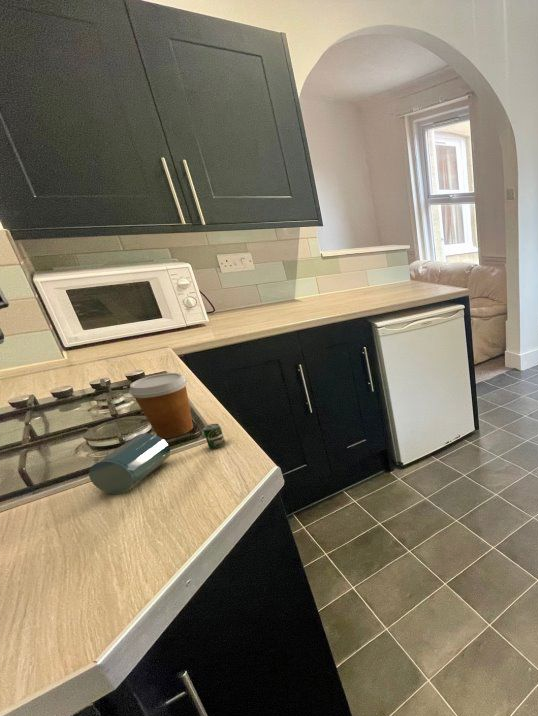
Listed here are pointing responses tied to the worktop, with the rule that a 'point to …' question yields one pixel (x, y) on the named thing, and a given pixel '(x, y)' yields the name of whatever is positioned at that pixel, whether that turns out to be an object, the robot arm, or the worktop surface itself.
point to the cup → (129, 463)
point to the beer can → (214, 436)
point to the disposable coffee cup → (164, 403)
